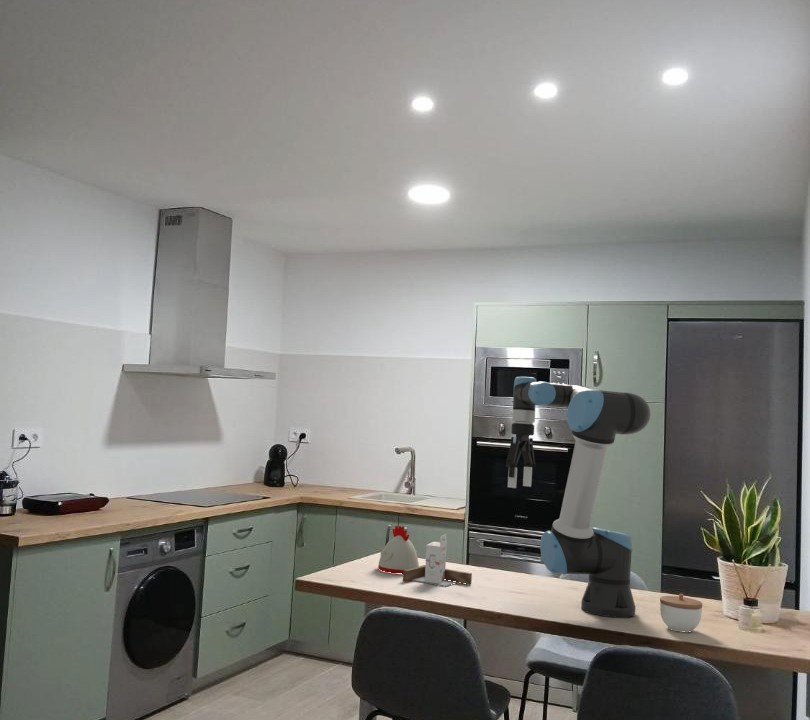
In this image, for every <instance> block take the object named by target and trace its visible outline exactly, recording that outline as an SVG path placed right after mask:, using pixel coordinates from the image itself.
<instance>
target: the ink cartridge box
mask: <svg viewBox="0 0 810 720" xmlns="http://www.w3.org/2000/svg"><path fill="white" fill-rule="evenodd" d="M443 539H444V540H443ZM447 539H448V537H447V533H445V534H443V535H441V536H440V537H439V541H432V542H430V543H428V544H426V545H425V546H426V549H425V552H426V553H425V565H426V566H425V582H430V583H440V582H441V581H443V580H444V579H445V569H446V566H447V565H446V562H447V550H448V549H447V546H448V544H447V543H448V541H447Z"/></svg>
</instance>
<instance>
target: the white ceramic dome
mask: <svg viewBox="0 0 810 720" xmlns="http://www.w3.org/2000/svg"><path fill="white" fill-rule="evenodd" d="M407 531H408V530H405V526H401V525H399V526H398V525H395V526H394V528H392V535H393V538H391V539H390V540H389V541H388V542H387V543H386V544H385V546H384V547H383V549H381V550H380V558H379V560H378V567H377V568H379V569H380V570H382V571H385V572H391V573H402V574H403V570H407V569H411V568H415V567H419V566H420V565H419V559H418V556H419V555H418V552H419V551H418V550H416V548H415V547H414V544H413V542H412V541H411V540H410V538H409V537H410V534H407ZM385 572H384V573H385Z"/></svg>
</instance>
